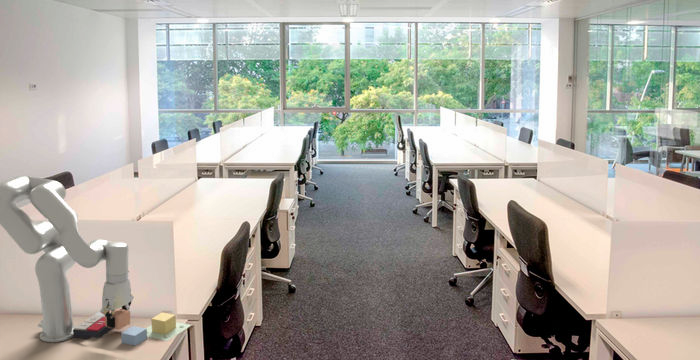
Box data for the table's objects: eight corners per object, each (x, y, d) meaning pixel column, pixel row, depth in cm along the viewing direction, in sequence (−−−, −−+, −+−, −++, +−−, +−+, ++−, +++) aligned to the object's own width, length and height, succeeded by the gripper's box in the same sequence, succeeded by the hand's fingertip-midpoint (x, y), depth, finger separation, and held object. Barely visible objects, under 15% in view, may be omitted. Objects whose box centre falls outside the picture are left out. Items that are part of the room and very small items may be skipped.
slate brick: (122, 346, 210) (121, 333, 209) (133, 338, 216) (132, 326, 215) (135, 349, 208) (134, 335, 207) (147, 341, 214) (146, 328, 213)
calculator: (71, 328, 216) (98, 309, 230) (73, 339, 217) (100, 319, 231) (98, 330, 213) (123, 311, 227) (99, 341, 214) (125, 321, 228)
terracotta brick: (105, 326, 216) (105, 313, 216) (117, 320, 222) (117, 307, 221) (118, 330, 214) (118, 316, 213) (130, 323, 220) (130, 310, 219)
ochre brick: (152, 331, 219) (151, 318, 218) (162, 324, 224) (162, 312, 223) (165, 334, 217) (164, 321, 216) (176, 327, 222) (175, 315, 221)
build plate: (135, 337, 217) (135, 333, 217) (161, 321, 230) (161, 318, 229) (167, 344, 212) (167, 340, 211) (191, 328, 224) (191, 324, 224)
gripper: (126, 267, 224) (126, 312, 227) (90, 282, 208) (91, 330, 211) (142, 271, 221) (142, 317, 225) (107, 286, 205) (108, 335, 209)
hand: (117, 323), depth 218 cm, fingers closed on terracotta brick, 6 cm apart
